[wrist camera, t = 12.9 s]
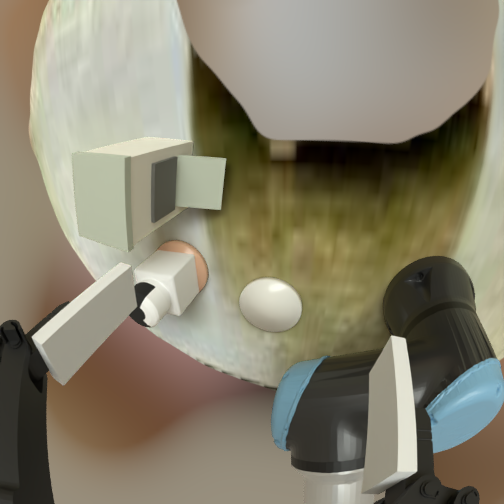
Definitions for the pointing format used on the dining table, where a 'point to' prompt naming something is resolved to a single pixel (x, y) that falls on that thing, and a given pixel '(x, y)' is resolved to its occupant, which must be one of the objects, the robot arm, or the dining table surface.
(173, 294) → the medicine bottle
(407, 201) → the dining table surface
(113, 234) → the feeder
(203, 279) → the peach round disc
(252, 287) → the white domed round part
